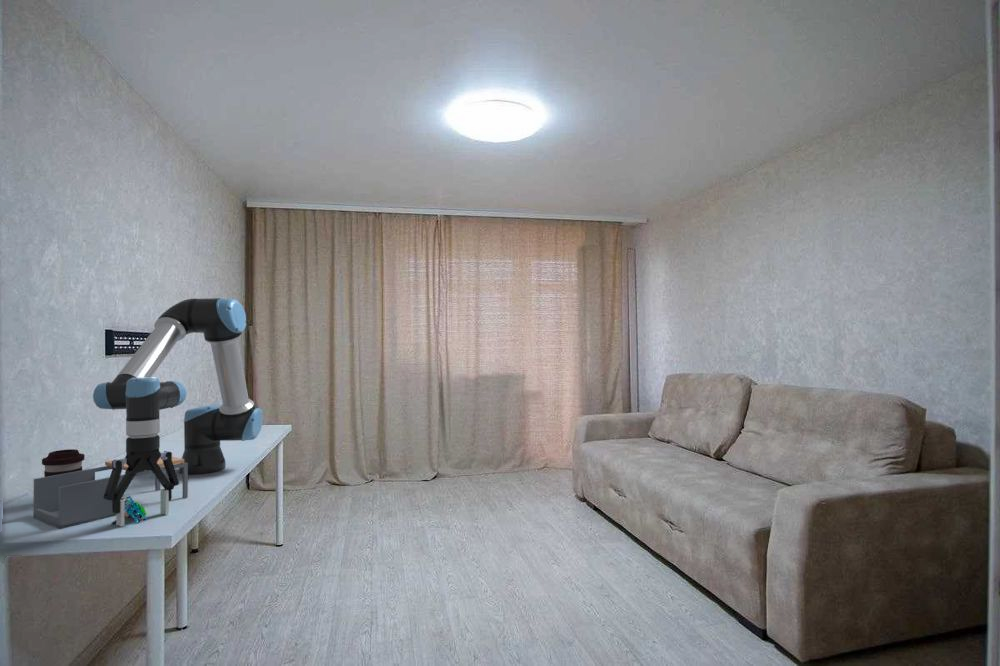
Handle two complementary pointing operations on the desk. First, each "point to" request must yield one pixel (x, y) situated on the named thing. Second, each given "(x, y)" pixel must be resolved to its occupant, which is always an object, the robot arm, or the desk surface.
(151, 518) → the desk surface
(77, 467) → the coffee cup
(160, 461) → the lid
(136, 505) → the stick construction toy
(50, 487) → the housing
